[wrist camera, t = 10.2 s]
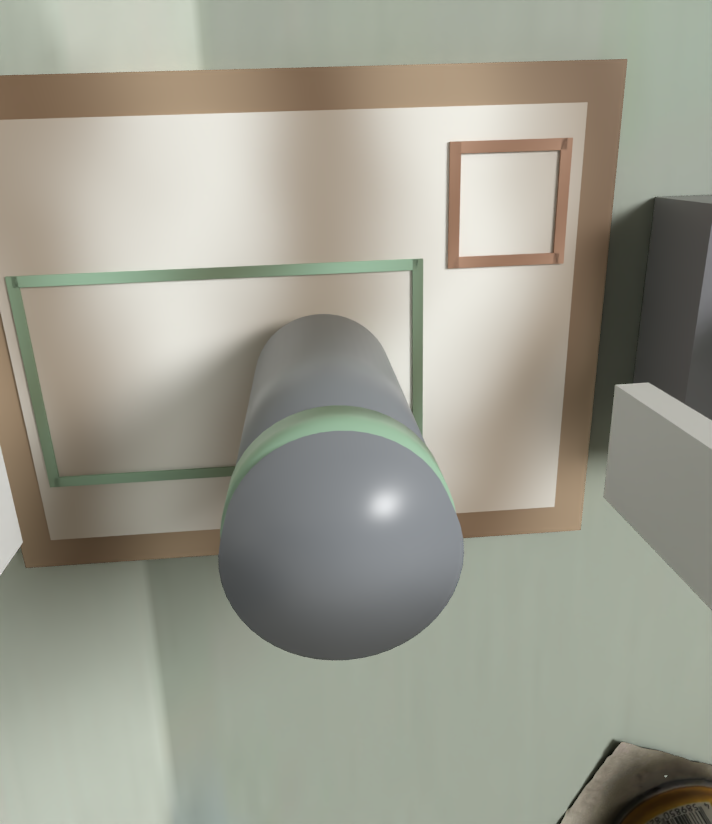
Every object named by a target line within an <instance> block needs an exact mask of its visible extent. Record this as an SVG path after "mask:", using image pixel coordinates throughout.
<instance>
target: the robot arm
mask: <svg viewBox="0 0 712 824" xmlns="http://www.w3.org/2000/svg"><path fill="white" fill-rule="evenodd" d="M603 497H604V498H605V499H606V500H607V501H608V502H609V503H610V504H611V506H612V507H613V508H614V509H615V510H616V511H617V512H618V513H619V514H620V515H621V516H622V517H623V518H624V519H625V520H626V521H627V522H628V523H629V524H630V525H631V526H632V527H633V528H634V530H635V531H636V532H637V533H638V534H639V535H640V536H641V537H642V538H643V539H644V540H645V541H646V542H647V543H648V544H649V545H650V546H651V547H652V548H653V549H654V550H655V551H656V553H657V554H658V555H659V556H660V557H661V558H662V559H663V560H664V561H665V562H666V563H667V564H668V565H669V566H670V567H671V568H672V569H673V570H674V571H675V572H676V573H677V574H678V576H679V577H680V578H681V579H682V580H683V581H684V582H685V583H686V584H687V585H688V586H689V587H690V588H691V589H692V590H693V591H694V592H695V593H696V594H697V595H698V596H699V597H700V598H701V600H702V601H703V602H704V603H705V604H706V605H707V606H708V607H709V608H710V609H711V610H712V420H710V419H708V418H707V417H705V416H704V415H702V414H700V413H699V412H697V411H695V410H694V409H692V408H690V407H689V406H687V405H685V404H684V403H682V402H680V401H679V400H677V399H675V398H674V397H672V396H670V395H669V394H667V393H665V392H664V391H662V390H660V389H659V388H657V387H655V386H654V385H652V384H650V383H634V384H618V385H615V391H614V400H613V410H612V420H611V429H610V439H609V448H608V458H607V467H606V477H605V487H604V496H603ZM22 543H23V541H22V536H21V532H20V528H19V523H18V519H17V515H16V511H15V506H14V502H13V498H12V493H11V489H10V485H9V481H8V476H7V472H6V468H5V463H4V459H3V455H2V451H1V446H0V575H1V574H2V572H3V571H4V569H5V568H6V566H7V565H8V563H9V562H10V561H11V559H12V558H13V556H14V555H15V553H16V552H17V550H18V549H19V547H20V546H21V545H22Z"/></svg>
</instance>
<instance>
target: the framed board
mask: <svg viewBox="0 0 712 824" xmlns="http://www.w3.org/2000/svg"><path fill="white" fill-rule="evenodd" d="M626 68H627V59H613V60H575V61H537V62H498V63H460V64H422V65H384V66H346V67H307V68H269V69H231V70H193V71H155V72H116V73H78V74H40V75H2V76H0V446H1V451H2V455H3V459H4V463H5V468H6V472H7V476H8V481H9V485H10V489H11V493H12V498H13V502H14V506H15V511H16V515H17V519H18V523H19V528H20V532H21V536H22V541H23V543H22V545H21V550H22V554H23V558H24V563H25V567H26V568H33V567H47V566H62V565H76V564H91V563H106V562H120V561H135V560H149V559H164V558H179V557H193V556H208V555H219V546H220V528H221V519H222V514H223V509H224V505H225V500H226V495H227V491H228V487H229V483H230V479H231V476H232V474H233V471H234V469H235V466H236V461H237V457H238V452H239V447H240V442H241V437H242V432H243V427H244V422H245V418H246V413H247V408H248V403H249V398H250V393H251V388H252V384H253V379H254V374H255V369H256V365H257V361H258V358H259V356H260V353H261V351H262V349H263V348H264V346H265V344H266V343H267V342H268V340H269V339H270V338H271V336H273V335H274V334H275V333H276V332H277V331H278V330H279V329H280V328H282V327H283V326H284V325H286V324H288V323H290V322H291V321H293V320H296V319H298V318H301V317H305V316H309V315H315V314H332V315H339V316H342V317H346V318H349V319H351V320H353V321H356V322H357V323H359V324H361V325H362V326H364V327H365V328H366V329H368V330H369V331H370V332H371V333H372V334H373V335H374V336H375V337H376V338H377V339H378V341H379V342H380V344H381V345H382V347H383V349H384V350H385V352H386V355H387V357H388V359H389V361H390V364H391V366H392V368H393V370H394V373H395V375H396V377H397V380H398V382H399V384H400V386H401V389H402V391H403V393H404V396H405V398H406V400H407V402H408V405H409V407H410V409H411V412H412V414H413V416H414V418H415V421H416V423H417V425H418V427H419V430H420V432H421V434H422V437H423V439H424V441H425V443H426V446H427V447H428V449H429V450H430V451H431V453H432V455H433V456H434V458H435V460H436V462H437V464H438V466H439V468H440V470H441V473H442V475H443V477H444V479H445V482H446V484H447V486H448V488H449V491H450V493H451V496H452V499H453V502H454V505H455V510H456V514H457V517H458V520H459V523H460V525H461V530H462V535H463V538H471V537H485V536H500V535H515V534H529V533H544V532H558V531H573V530H581V521H582V511H583V501H584V491H585V481H586V470H587V460H588V450H589V440H590V430H591V420H592V410H593V400H594V390H595V380H596V370H597V360H598V350H599V340H600V329H601V319H602V309H603V299H604V289H605V279H606V269H607V259H608V249H609V239H610V229H611V219H612V209H613V199H614V188H615V178H616V168H617V158H618V148H619V138H620V128H621V118H622V108H623V98H624V88H625V78H626Z"/></svg>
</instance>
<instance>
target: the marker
mask: <svg viewBox="0 0 712 824" xmlns="http://www.w3.org/2000/svg"><path fill="white" fill-rule="evenodd" d="M463 556H464V545H463V535H462V530H461V525H460V523H459V520H458V517H457V514H456V510H455V505H454V502H453V499H452V496H451V493H450V491H449V488H448V486H447V484H446V482H445V479H444V477H443V475H442V473H441V470H440V468H439V466H438V464H437V462H436V460H435V458H434V456H433V455H432V453H431V451H430V450H429V449H428V447H427V446H426V443H425V441H424V439H423V437H422V434H421V432H420V430H419V427H418V425H417V423H416V421H415V418H414V416H413V414H412V412H411V409H410V407H409V405H408V402H407V400H406V398H405V396H404V393H403V391H402V389H401V386H400V384H399V382H398V380H397V377H396V375H395V373H394V370H393V368H392V366H391V364H390V361H389V359H388V357H387V355H386V352H385V350H384V349H383V347H382V345H381V344H380V342H379V341H378V339H377V338H376V337H375V336H374V335H373V334H372V333H371V332H370V331H369V330H368V329H366V328H365V327H364V326H362V325H361V324H359V323H357V322H356V321H353V320H351V319H349V318H346V317H342V316H339V315H332V314H315V315H309V316H305V317H301V318H298V319H296V320H293V321H291V322H290V323H288V324H286V325H284V326H283V327H282V328H280V329H279V330H278V331H277V332H276V333H275V334H274V335H273V336H271V338H270V339H269V340H268V342H267V343H266V344H265V346H264V348H263V349H262V351H261V353H260V356H259V358H258V361H257V365H256V369H255V374H254V379H253V384H252V388H251V393H250V398H249V403H248V408H247V413H246V418H245V422H244V427H243V432H242V437H241V442H240V447H239V452H238V457H237V461H236V466H235V469H234V471H233V474H232V476H231V479H230V483H229V487H228V491H227V495H226V500H225V505H224V509H223V514H222V519H221V528H220V546H219V555H218V558H219V572H220V578H221V583H222V586H223V588H224V591H225V594H226V597H227V598H228V600H229V602H230V604H231V606H232V608H233V609H234V611H235V612H236V613H237V615H238V616H239V617H240V619H241V620H242V621H243V622H244V623H245V624H246V625H247V626H248V627H249V628H250V629H251V630H252V631H253V632H255V633H256V634H257V635H258V636H260V637H261V638H262V639H264V640H266V641H267V642H269V643H271V644H272V645H274V646H276V647H278V648H280V649H283V650H285V651H287V652H290V653H293V654H297V655H300V656H303V657H309V658H314V659H322V660H350V659H358V658H364V657H368V656H372V655H376V654H379V653H382V652H385V651H388V650H391V649H393V648H395V647H397V646H399V645H401V644H403V643H405V642H406V641H408V640H410V639H411V638H413V637H414V636H416V635H417V634H419V633H420V632H421V631H422V630H424V629H425V628H426V627H427V626H429V625H430V624H431V623H432V621H433V620H434V619H435V618H436V617H437V616H438V615H439V614H440V613H441V611H442V610H443V609H444V607H445V606H446V605H447V603H448V602H449V600H450V598H451V596H452V595H453V593H454V591H455V588H456V586H457V583H458V581H459V578H460V574H461V570H462V566H463Z"/></svg>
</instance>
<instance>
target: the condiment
mask: <svg viewBox="0 0 712 824" xmlns="http://www.w3.org/2000/svg"><path fill="white" fill-rule="evenodd" d="M664 775H668V776H667V777H666V778H665V777H664ZM560 824H712V765H708V764H706V763H697V762H692V761H689V760H687V759H685V758H682V757H679V756H674V755H671V754H669V753H666V752H663V751H658V750H651V749H645V748H641V747H638V746H636V745H632V744H629V743H625V742H621V743H620V744H619V745H618V747H617V748H616V749H615V751H614V752H613V754H612V755H611V756H609V757H607V759H606V760H605V762H604V763H603V765H602V766H601V767H600V768H599V770H598V771H597V772H596V774H595V775H594V777H593V779H592V780H591V781H590V782H589V783H588V784H587V785H586V786H585V788H584V789H583V791H582V792H581V794H580V795H579V797H578V798H577V800H576V801H575V803H574V804H573V806H572V807H571V808H570V809H568V810H567V811H566V813H565V816H564V818H563V820H562V822H561V823H560Z"/></svg>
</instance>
